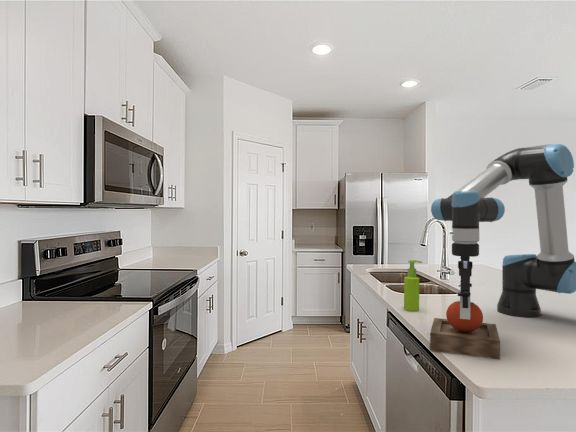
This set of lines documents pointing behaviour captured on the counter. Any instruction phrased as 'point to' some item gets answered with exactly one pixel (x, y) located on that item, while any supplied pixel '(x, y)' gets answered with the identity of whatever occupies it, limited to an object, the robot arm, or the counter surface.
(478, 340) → the walnut box
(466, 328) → the tomato
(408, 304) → the soap dispenser
